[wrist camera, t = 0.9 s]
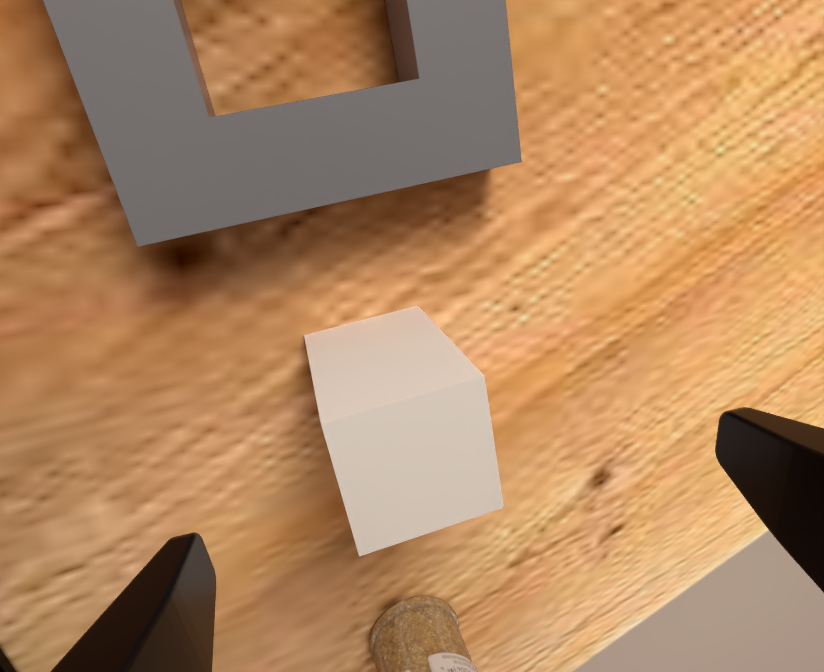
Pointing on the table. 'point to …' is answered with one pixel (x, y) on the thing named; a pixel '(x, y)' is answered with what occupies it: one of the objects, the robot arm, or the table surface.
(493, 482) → the plug
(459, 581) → the table surface
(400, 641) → the sprinkles bottle
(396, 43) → the socket block
